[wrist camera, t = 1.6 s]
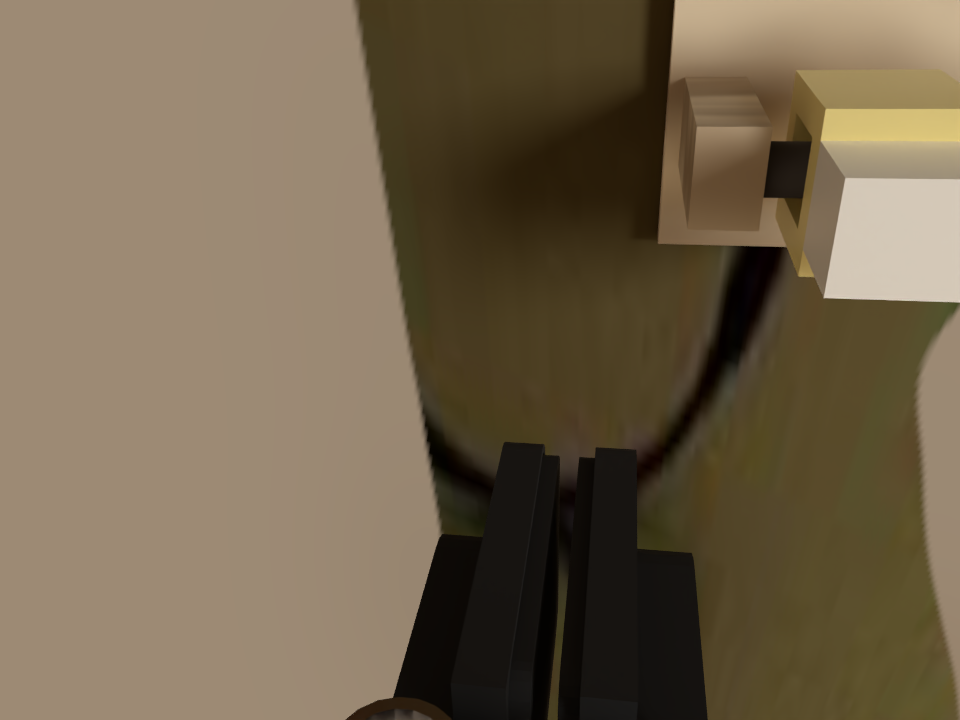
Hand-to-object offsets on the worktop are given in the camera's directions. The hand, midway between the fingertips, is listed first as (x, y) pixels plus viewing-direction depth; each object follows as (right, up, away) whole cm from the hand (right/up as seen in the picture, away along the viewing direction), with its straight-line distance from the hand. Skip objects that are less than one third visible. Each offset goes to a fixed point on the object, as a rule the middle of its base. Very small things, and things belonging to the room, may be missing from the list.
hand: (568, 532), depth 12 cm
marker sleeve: (+10, +9, +15) cm, 20 cm away
